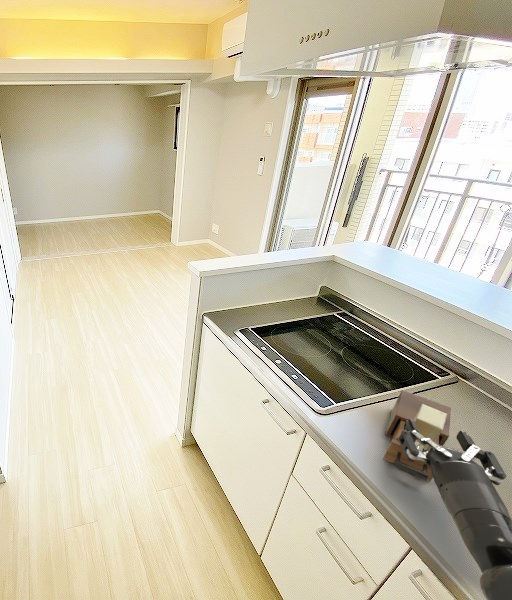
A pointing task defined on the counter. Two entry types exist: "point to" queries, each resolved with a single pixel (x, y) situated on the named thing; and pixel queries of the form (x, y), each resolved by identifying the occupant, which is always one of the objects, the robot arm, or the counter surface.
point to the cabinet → (415, 413)
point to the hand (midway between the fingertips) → (434, 427)
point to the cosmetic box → (430, 422)
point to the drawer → (399, 457)
